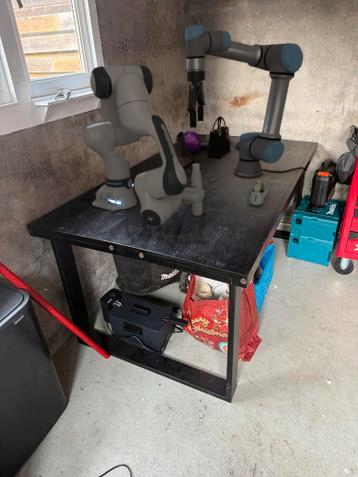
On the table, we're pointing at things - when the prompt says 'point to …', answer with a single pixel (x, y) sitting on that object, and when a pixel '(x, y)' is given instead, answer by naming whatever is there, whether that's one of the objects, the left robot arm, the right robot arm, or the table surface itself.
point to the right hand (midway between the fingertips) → (197, 124)
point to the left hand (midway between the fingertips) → (184, 186)
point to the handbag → (219, 140)
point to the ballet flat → (258, 193)
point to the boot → (183, 150)
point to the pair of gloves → (206, 142)
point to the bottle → (197, 181)
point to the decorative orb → (192, 141)
